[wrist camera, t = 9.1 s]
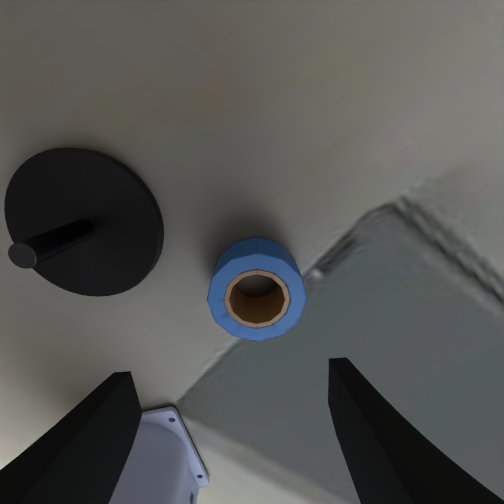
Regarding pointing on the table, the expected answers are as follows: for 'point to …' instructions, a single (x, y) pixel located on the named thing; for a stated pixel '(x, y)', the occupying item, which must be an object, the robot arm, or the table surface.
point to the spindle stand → (83, 222)
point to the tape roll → (263, 308)
